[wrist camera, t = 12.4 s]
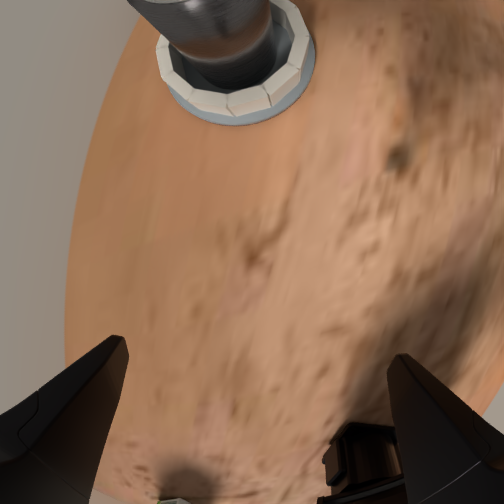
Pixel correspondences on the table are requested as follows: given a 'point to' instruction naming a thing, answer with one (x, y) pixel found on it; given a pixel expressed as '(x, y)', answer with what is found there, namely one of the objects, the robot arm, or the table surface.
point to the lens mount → (254, 97)
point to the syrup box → (174, 501)
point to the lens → (218, 37)
